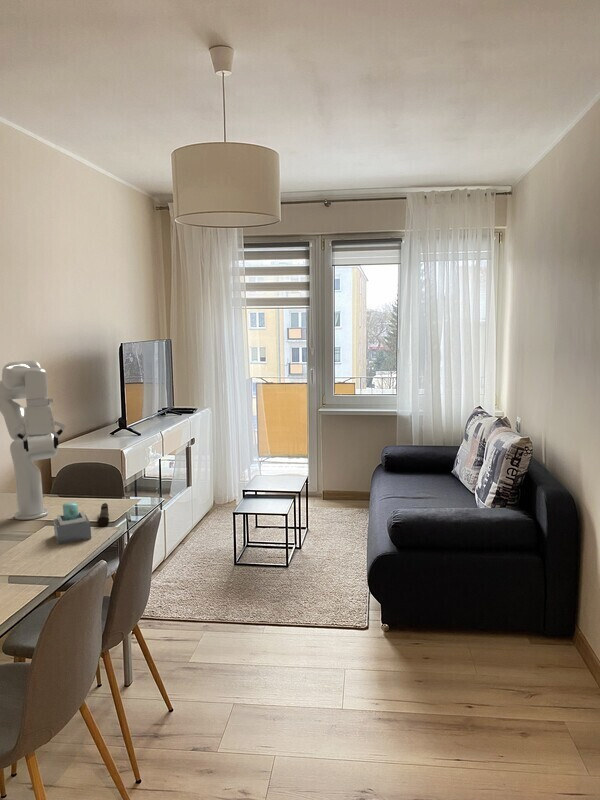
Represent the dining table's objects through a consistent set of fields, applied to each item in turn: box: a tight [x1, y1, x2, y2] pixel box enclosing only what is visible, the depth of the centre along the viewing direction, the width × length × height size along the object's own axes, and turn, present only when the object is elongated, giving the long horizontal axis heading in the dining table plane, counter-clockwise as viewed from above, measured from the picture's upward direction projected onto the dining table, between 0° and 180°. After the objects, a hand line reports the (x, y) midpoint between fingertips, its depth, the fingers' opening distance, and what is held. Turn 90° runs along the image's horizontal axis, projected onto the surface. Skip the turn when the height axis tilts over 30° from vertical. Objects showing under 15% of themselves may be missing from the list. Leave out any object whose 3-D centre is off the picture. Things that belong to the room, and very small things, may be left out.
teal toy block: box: [62, 501, 79, 520], centre depth 228 cm, size 7×5×6 cm
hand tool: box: [97, 502, 110, 527], centre depth 250 cm, size 19×4×5 cm, turn 12°
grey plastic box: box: [53, 511, 92, 545], centre depth 229 cm, size 11×11×8 cm
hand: (41, 449), depth 236 cm, fingers open, 9 cm apart
